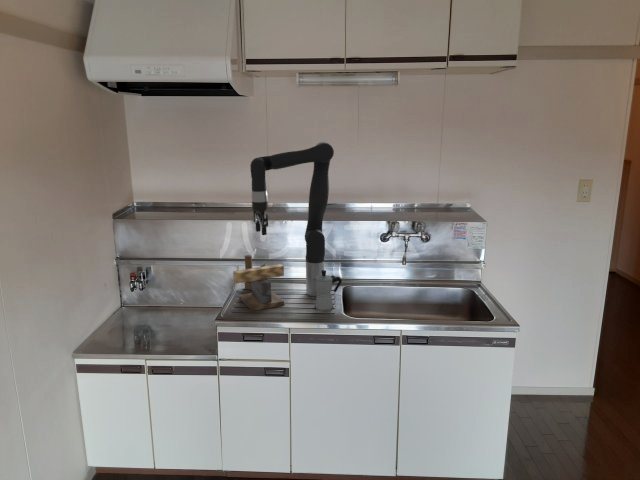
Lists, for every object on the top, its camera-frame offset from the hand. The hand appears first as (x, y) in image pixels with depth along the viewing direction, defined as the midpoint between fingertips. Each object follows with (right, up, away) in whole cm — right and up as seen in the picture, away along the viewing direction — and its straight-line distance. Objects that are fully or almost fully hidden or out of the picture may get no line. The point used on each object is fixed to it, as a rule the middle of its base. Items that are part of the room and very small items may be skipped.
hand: (261, 233), depth 236 cm
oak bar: (0, -22, -4) cm, 22 cm away
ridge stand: (0, -33, -1) cm, 33 cm away
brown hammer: (-5, -29, +16) cm, 34 cm away
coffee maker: (+32, -35, -8) cm, 48 cm away
